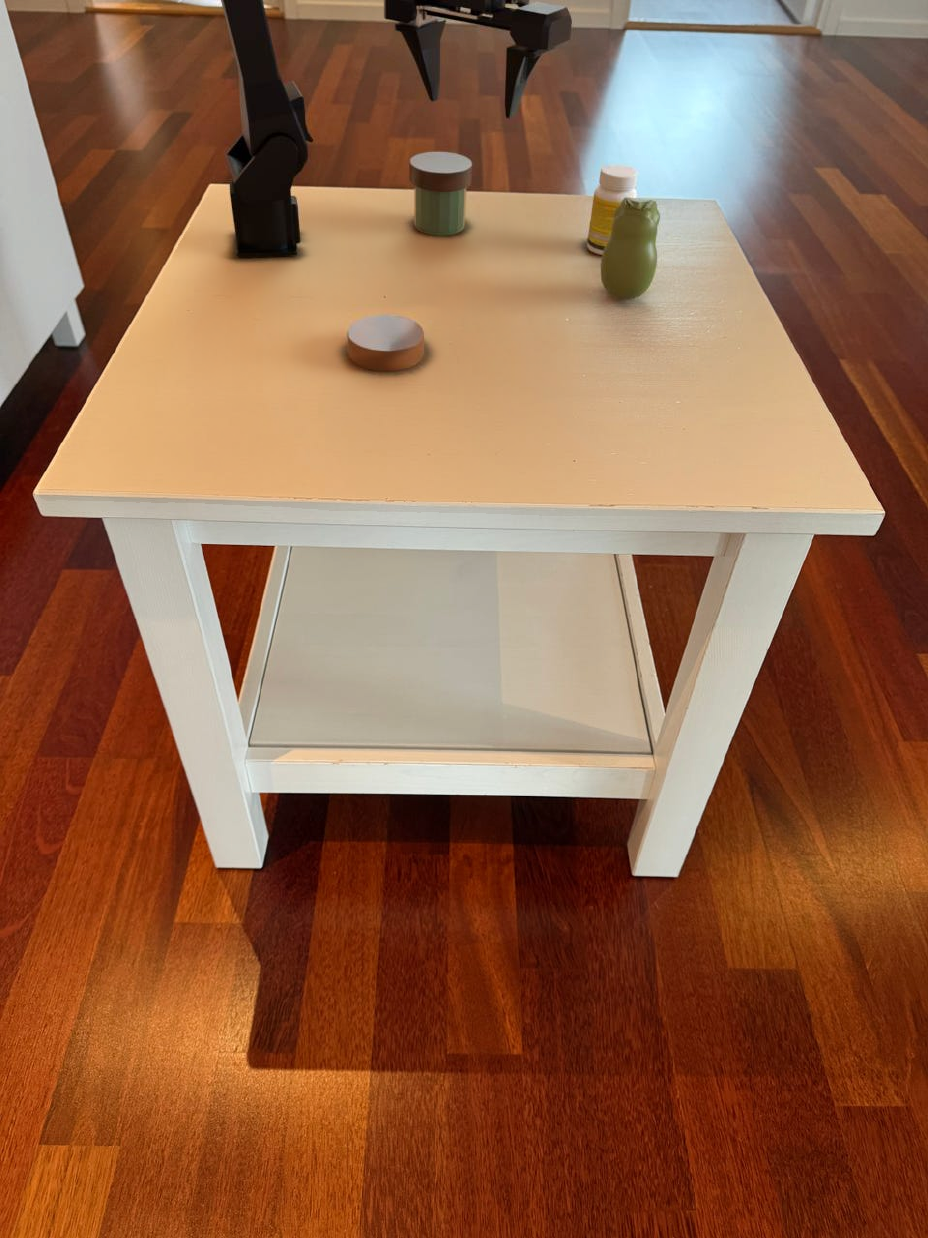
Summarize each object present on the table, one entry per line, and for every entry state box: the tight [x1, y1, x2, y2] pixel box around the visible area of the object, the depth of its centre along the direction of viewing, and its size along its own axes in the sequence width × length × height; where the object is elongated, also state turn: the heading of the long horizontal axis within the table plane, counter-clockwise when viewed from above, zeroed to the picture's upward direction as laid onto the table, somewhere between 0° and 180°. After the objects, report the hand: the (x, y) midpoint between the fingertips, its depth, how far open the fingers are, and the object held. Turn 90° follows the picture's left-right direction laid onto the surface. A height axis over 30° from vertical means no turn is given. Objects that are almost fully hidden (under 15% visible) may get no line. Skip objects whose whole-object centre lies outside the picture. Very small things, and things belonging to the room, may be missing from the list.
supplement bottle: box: [586, 164, 639, 256], centre depth 101 cm, size 5×5×8 cm
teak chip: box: [346, 314, 425, 372], centre depth 84 cm, size 7×7×2 cm
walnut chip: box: [408, 151, 473, 192], centre depth 103 cm, size 7×7×2 cm
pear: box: [600, 197, 661, 301], centre depth 92 cm, size 6×5×10 cm
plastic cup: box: [413, 185, 467, 237], centre depth 105 cm, size 6×6×5 cm
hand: (471, 108), depth 97 cm, fingers open, 9 cm apart
